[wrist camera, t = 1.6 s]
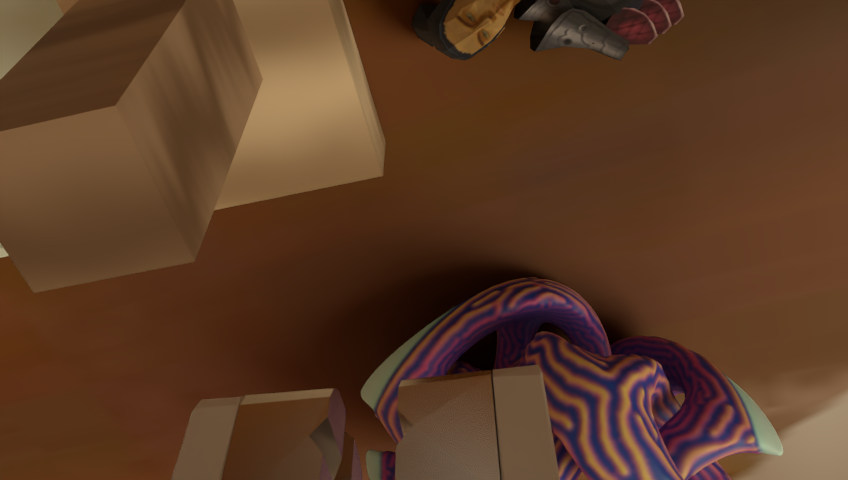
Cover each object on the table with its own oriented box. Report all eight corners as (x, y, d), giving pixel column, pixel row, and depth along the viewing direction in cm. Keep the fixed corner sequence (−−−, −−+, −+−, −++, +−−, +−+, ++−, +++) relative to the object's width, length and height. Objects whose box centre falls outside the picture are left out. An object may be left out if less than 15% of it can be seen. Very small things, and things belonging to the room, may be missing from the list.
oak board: (10, -175, 30) (-26, -160, 28) (268, -248, 29) (253, -238, 26) (184, 183, 39) (168, 219, 37) (385, 142, 38) (382, 176, 35)
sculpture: (432, 437, 54) (756, 512, 47) (307, 640, 40) (745, 792, 33) (427, 219, 47) (801, 268, 40) (275, 368, 33) (812, 483, 26)
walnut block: (91, -13, 30) (-66, 146, 21) (216, -44, 30) (115, 105, 20) (147, 105, 33) (33, 292, 24) (263, 79, 33) (194, 261, 23)
